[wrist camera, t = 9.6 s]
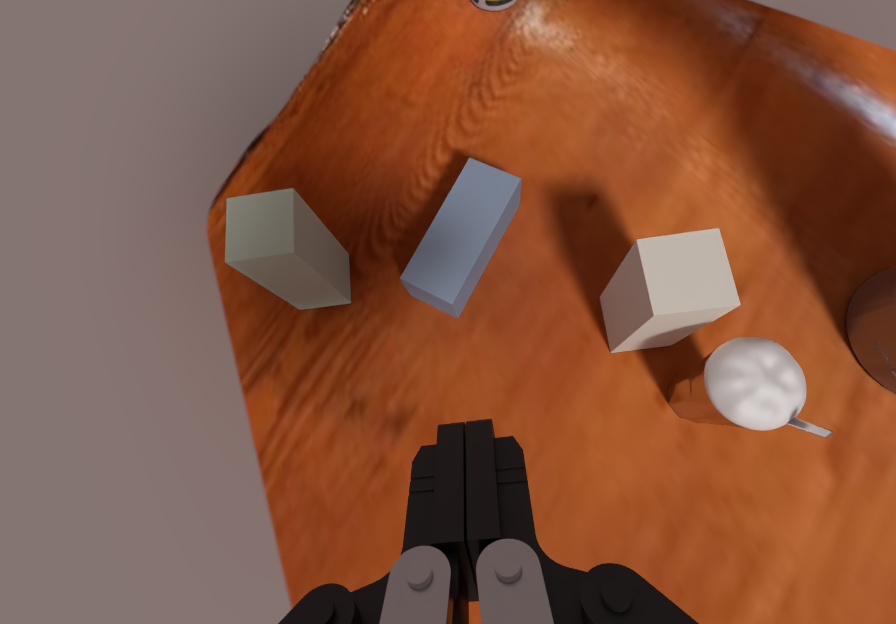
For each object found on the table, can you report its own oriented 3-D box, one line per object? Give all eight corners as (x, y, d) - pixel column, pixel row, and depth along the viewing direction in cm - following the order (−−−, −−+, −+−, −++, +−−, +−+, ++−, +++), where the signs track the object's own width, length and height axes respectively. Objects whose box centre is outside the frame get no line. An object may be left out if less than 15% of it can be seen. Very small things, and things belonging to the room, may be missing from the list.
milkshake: (698, 458, 30) (788, 466, 20) (641, 388, 32) (700, 365, 22) (755, 416, 30) (870, 405, 21) (696, 349, 32) (777, 309, 22)
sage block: (348, 253, 37) (293, 187, 27) (351, 303, 36) (293, 252, 26) (299, 261, 37) (226, 198, 27) (299, 310, 36) (224, 262, 26)
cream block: (657, 289, 33) (718, 228, 24) (670, 345, 32) (740, 305, 22) (599, 297, 33) (636, 239, 24) (610, 352, 32) (653, 315, 23)
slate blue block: (458, 319, 35) (519, 206, 36) (452, 304, 31) (521, 178, 32) (411, 296, 35) (473, 186, 37) (399, 278, 32) (469, 157, 33)
